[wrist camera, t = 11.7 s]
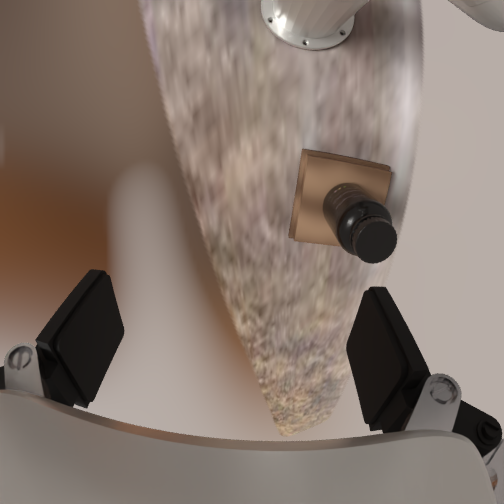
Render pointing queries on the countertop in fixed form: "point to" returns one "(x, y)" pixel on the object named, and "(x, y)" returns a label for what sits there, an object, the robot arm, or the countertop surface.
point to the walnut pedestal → (321, 182)
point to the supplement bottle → (359, 222)
